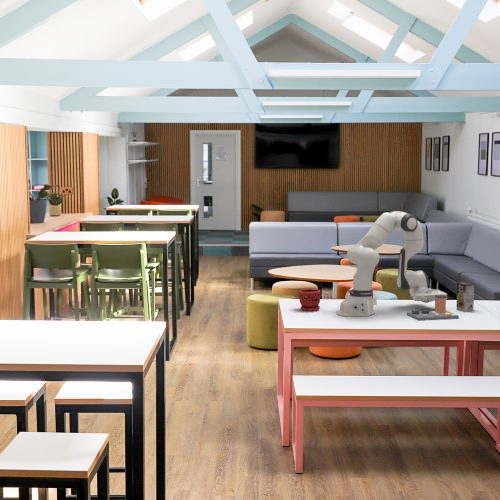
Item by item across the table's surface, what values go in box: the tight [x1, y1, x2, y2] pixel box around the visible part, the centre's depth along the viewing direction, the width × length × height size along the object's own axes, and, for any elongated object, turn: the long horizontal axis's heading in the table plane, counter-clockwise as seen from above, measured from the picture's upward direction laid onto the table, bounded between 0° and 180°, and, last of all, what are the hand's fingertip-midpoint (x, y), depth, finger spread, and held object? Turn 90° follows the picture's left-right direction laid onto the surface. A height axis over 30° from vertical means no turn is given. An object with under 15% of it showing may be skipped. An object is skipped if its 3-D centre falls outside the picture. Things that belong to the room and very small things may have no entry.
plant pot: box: [298, 288, 322, 312], centre depth 466 cm, size 13×13×12 cm
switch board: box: [406, 309, 460, 322], centre depth 442 cm, size 24×17×3 cm
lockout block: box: [434, 294, 447, 313], centre depth 445 cm, size 5×5×10 cm
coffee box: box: [456, 281, 475, 313], centre depth 460 cm, size 9×6×16 cm
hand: (435, 299), depth 452 cm, fingers open, 8 cm apart
